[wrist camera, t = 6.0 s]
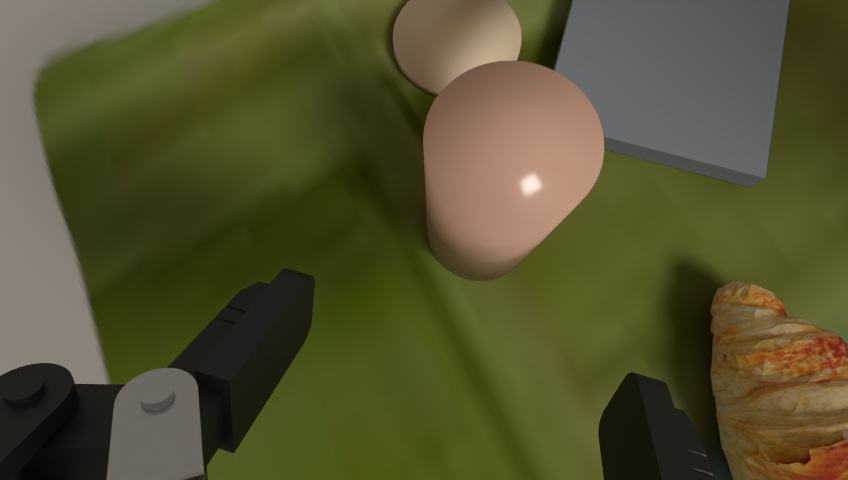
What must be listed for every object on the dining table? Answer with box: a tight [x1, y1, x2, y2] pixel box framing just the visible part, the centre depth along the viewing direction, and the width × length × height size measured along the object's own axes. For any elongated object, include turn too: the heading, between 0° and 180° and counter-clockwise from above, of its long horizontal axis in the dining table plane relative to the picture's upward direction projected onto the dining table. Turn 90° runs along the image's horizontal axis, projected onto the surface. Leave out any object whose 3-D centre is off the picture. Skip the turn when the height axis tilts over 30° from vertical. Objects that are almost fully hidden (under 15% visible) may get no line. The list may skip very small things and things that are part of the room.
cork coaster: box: [393, 0, 522, 97], centre depth 25 cm, size 7×7×1 cm
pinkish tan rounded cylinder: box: [423, 61, 604, 281], centre depth 18 cm, size 5×5×10 cm
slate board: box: [553, 0, 790, 187], centre depth 25 cm, size 11×14×1 cm
